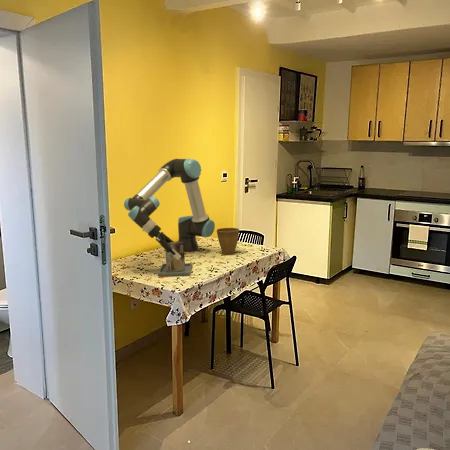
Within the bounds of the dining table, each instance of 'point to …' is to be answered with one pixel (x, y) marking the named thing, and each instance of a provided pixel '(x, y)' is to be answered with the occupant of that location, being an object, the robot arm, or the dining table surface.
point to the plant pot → (228, 239)
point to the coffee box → (171, 261)
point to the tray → (185, 272)
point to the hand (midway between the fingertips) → (180, 255)
